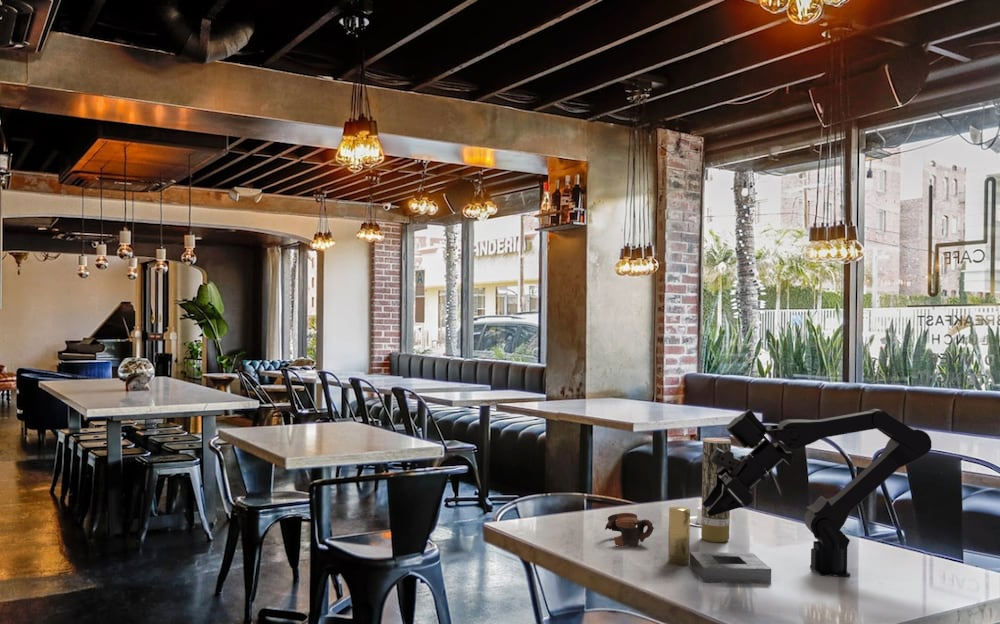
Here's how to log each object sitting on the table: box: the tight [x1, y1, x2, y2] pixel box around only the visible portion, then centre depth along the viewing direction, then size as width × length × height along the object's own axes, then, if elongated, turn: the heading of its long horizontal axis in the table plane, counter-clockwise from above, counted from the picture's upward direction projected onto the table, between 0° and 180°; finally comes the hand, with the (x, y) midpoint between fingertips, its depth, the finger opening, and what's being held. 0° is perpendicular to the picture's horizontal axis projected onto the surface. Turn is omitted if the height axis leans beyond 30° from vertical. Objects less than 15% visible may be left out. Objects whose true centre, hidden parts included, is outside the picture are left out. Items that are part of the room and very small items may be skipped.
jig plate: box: [689, 551, 772, 584], centre depth 176 cm, size 14×12×3 cm
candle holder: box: [690, 506, 702, 527], centre depth 223 cm, size 12×12×4 cm
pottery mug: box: [604, 512, 655, 547], centre depth 200 cm, size 12×10×8 cm
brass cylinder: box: [667, 506, 691, 567], centre depth 184 cm, size 5×5×12 cm
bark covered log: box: [700, 437, 732, 543], centre depth 205 cm, size 7×7×25 cm
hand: (706, 510), depth 183 cm, fingers open, 9 cm apart
